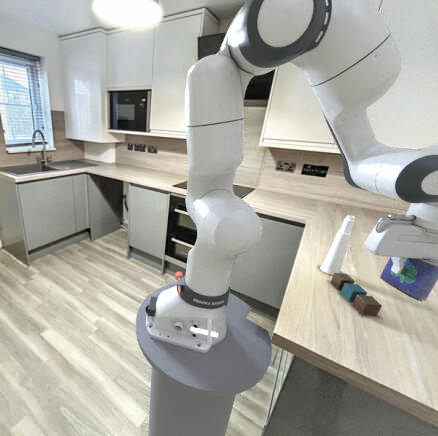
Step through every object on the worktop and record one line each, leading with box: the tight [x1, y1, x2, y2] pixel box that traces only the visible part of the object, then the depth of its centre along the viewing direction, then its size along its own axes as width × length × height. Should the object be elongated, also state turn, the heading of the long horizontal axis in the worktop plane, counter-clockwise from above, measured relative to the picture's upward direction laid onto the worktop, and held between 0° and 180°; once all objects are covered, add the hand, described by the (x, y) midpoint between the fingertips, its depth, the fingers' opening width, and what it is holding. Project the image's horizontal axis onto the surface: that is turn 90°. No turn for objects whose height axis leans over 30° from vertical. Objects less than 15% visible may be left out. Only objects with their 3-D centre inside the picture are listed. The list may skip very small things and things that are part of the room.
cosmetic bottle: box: [320, 215, 356, 276], centre depth 83 cm, size 6×6×22 cm
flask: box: [379, 257, 438, 302], centre depth 53 cm, size 9×3×11 cm, turn 3°
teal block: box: [340, 283, 368, 303], centre depth 73 cm, size 4×4×4 cm
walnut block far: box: [330, 272, 356, 291], centre depth 78 cm, size 4×4×4 cm
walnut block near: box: [352, 294, 383, 317], centre depth 68 cm, size 4×4×4 cm
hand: (407, 273), depth 53 cm, fingers closed on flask, 3 cm apart
